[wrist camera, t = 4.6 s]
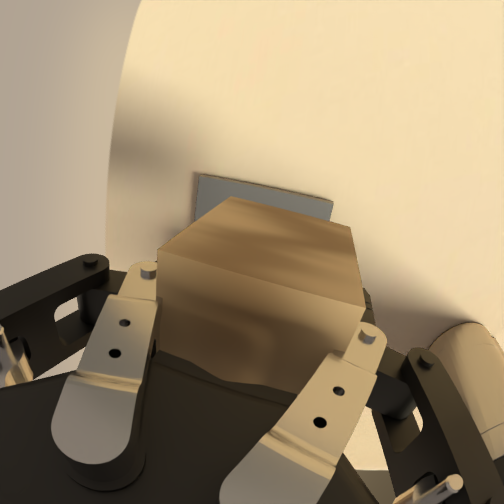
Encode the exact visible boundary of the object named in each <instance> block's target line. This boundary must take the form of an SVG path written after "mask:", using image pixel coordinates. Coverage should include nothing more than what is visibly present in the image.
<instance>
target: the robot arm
mask: <svg viewBox="0 0 504 504" xmlns="http://www.w3.org/2000/svg"><path fill="white" fill-rule="evenodd" d="M156 276H157V261H156V262H150V261H145V262H139V263H136V264H134V265H132V266H131V267H130V268H129V270H128V272H122V271H114V270H109V260H108V259H107V258H106V257H105V256H103V255H99V254H85V255H81V256H79V257H76V258H74V259H72V260H69V261H67V262H64V263H62V264H59V265H57V266H55V267H52V268H50V269H48V270H45V271H43V272H41V273H38V274H36V275H34V276H32V277H29V278H27V279H25V280H22V281H20V282H18V283H16V284H13V285H11V286H9V287H7V288H5V289H2V290H0V504H379V503H378V501H377V500H376V499H375V497H374V496H373V495H372V493H371V492H370V490H369V489H368V488H367V487H366V485H365V483H364V482H363V481H362V479H361V478H360V476H359V475H358V474H357V472H356V471H355V469H354V468H353V466H352V465H351V463H350V462H349V461H348V459H347V458H346V456H345V455H344V453H343V451H344V449H345V447H346V445H347V443H348V441H349V439H350V437H351V435H352V433H353V431H354V429H355V427H356V425H357V423H358V421H359V418H360V416H361V414H362V412H363V410H364V407H365V406H366V407H369V408H371V409H372V416H373V419H374V422H375V425H376V429H377V432H378V435H379V439H380V442H381V445H382V449H383V452H384V455H385V459H386V462H387V466H388V470H389V473H390V477H391V480H392V484H393V488H394V492H395V496H396V499H395V500H394V502H393V504H504V352H503V351H502V349H501V347H500V345H499V344H498V342H497V340H496V339H495V338H492V337H491V335H490V333H489V332H488V330H487V329H486V328H485V327H484V326H482V325H481V324H477V323H465V324H460V325H458V326H455V327H453V328H451V329H449V330H448V331H446V332H445V333H443V334H442V335H441V336H440V337H438V338H437V339H436V341H435V342H434V343H433V344H432V345H431V347H430V348H429V350H426V349H423V348H413V349H411V350H410V351H409V353H408V354H407V356H404V355H402V354H400V353H398V352H396V351H394V350H392V349H390V348H388V347H387V346H386V344H387V338H386V336H385V334H384V333H383V332H382V331H381V330H380V329H379V328H377V327H376V326H375V320H374V315H373V310H372V304H371V299H370V295H369V294H368V293H367V291H366V290H365V289H364V288H363V294H364V299H365V305H366V309H365V311H364V314H363V316H362V318H361V320H360V323H359V325H358V327H357V329H356V331H355V333H354V335H353V338H352V340H351V342H350V344H349V346H348V348H347V350H346V352H343V351H339V350H335V349H334V351H333V352H332V353H329V354H328V355H327V356H326V358H325V359H324V361H323V362H322V363H321V365H320V366H319V368H318V369H317V371H316V372H315V373H314V375H313V376H312V378H311V379H310V380H309V382H308V383H307V384H306V386H305V387H304V389H303V390H302V391H301V393H300V394H299V395H298V397H297V394H295V393H291V392H287V391H283V390H280V389H276V388H272V387H268V386H265V385H259V384H249V383H239V382H231V381H224V380H221V379H219V378H218V377H216V376H214V375H212V374H211V373H209V372H207V371H206V370H204V369H202V368H201V367H199V366H197V365H196V364H194V363H192V362H190V361H188V360H185V359H182V358H180V357H177V356H174V355H172V354H169V353H167V352H164V351H162V350H160V322H161V316H162V306H163V298H161V297H158V296H156ZM75 297H77V301H78V308H79V310H77V311H75V312H73V313H71V314H69V315H68V316H66V317H64V318H62V319H60V320H58V321H57V322H55V319H54V313H55V310H56V309H57V307H58V306H60V305H61V304H63V303H65V302H67V301H69V300H71V299H73V298H75ZM84 347H86V348H85V350H84V353H83V355H82V358H81V361H80V363H79V366H78V368H77V370H74V371H70V372H67V373H62V374H59V375H55V376H51V377H46V378H42V379H38V380H34V379H35V378H37V377H38V376H40V375H42V374H43V373H44V372H46V371H48V370H49V369H51V368H53V367H54V366H56V365H57V364H59V363H60V362H62V361H63V360H65V359H67V358H68V357H70V356H71V355H73V354H75V353H76V352H78V351H79V350H81V349H82V348H84ZM32 380H34V381H32ZM416 407H418V410H419V412H420V414H421V417H422V419H423V428H422V431H421V432H420V430H419V427H418V425H417V422H416V420H415V417H414V415H413V412H412V411H413V410H414V409H415V408H416Z"/></svg>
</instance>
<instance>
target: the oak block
mask: <svg viewBox="0 0 504 504" xmlns="http://www.w3.org/2000/svg"><path fill="white" fill-rule="evenodd" d="M156 296H158V297H161V298H163V306H162V316H161V322H160V350H162V351H164V352H167V353H169V354H172V355H174V356H177V357H180V358H182V359H185V360H188V361H190V362H192V363H194V364H196V365H197V366H199V367H201V368H202V369H204V370H206V371H207V372H209V373H211V374H212V375H214V376H216V377H218V378H219V379H221V380H224V381H231V382H239V383H249V384H259V385H265V386H268V387H272V388H276V389H280V390H283V391H287V392H291V393H295V394H297V397H298V395H299V394H300V393H301V391H302V390H303V389H304V387H305V386H306V384H307V383H308V382H309V380H310V379H311V378H312V376H313V375H314V373H315V372H316V371H317V369H318V368H319V366H320V365H321V363H322V362H323V361H324V359H325V358H326V356H327V355H328V354H329V353H332V352H333V351H334V349H335V350H339V351H343V352H346V350H347V348H348V346H349V344H350V342H351V340H352V338H353V335H354V333H355V331H356V329H357V327H358V325H359V323H360V320H361V318H362V316H363V314H364V311H365V309H366V305H365V299H364V294H363V288H362V282H361V277H360V272H359V267H358V262H357V257H356V252H355V247H354V243H353V238H352V234H351V229H350V227H348V226H344V225H341V224H337V223H333V222H330V221H326V220H323V219H319V218H315V217H312V216H308V215H304V214H300V213H297V212H293V211H289V210H285V209H281V208H277V207H273V206H270V205H266V204H262V203H257V202H253V201H249V200H245V199H241V198H237V197H233V196H230V197H229V198H227V199H226V200H225V201H223V202H222V203H220V204H219V205H218V206H216V207H215V208H213V209H212V210H211V211H209V212H208V213H206V214H205V215H204V216H202V217H201V218H199V219H198V220H197V221H195V222H194V223H193V224H191V225H190V226H188V227H187V228H186V229H184V230H183V231H182V232H180V233H179V234H178V235H176V236H175V237H174V238H172V239H171V240H170V241H168V242H167V243H166V244H164V245H163V246H162V247H160V248H159V249H158V253H157V276H156Z"/></svg>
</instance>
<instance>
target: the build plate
mask: <svg viewBox="0 0 504 504" xmlns="http://www.w3.org/2000/svg"><path fill="white" fill-rule="evenodd" d="M230 196H233V197H237V198H241V199H245V200H249V201H253V202H257V203H262V204H266V205H270V206H273V207H277V208H281V209H285V210H289V211H293V212H297V213H300V214H304V215H308V216H312V217H315V218H319V219H323V220H326V221H329V220H330V216H331V212H332V208H333V201H329V200H325V199H320V198H316V197H312V196H308V195H303V194H299V193H295V192H290V191H286V190H281V189H276V188H272V187H267V186H262V185H257V184H252V183H247V182H242V181H237V180H232V179H226V178H221V177H215V176H210V175H204V174H203V175H200V176H199V182H198V191H197V200H196V210H195V221H197V220H198V219H199V218H201V217H202V216H204V215H205V214H206V213H208V212H209V211H211V210H212V209H213V208H215V207H216V206H218V205H219V204H220V203H222V202H223V201H225V200H226V199H227V198H229V197H230ZM195 221H194V222H195Z"/></svg>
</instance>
